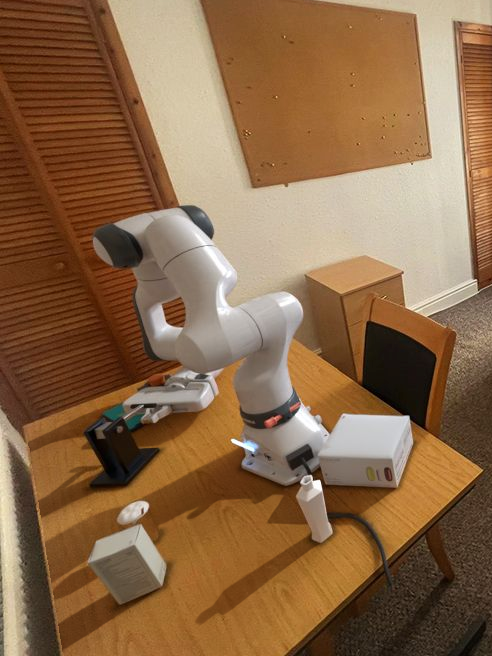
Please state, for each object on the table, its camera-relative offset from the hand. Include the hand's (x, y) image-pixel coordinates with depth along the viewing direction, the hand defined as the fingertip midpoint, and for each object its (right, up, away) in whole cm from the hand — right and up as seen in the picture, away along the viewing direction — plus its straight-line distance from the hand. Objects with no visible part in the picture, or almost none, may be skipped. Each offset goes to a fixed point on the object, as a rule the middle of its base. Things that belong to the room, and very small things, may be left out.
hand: (147, 421), depth 102 cm
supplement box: (+59, -8, -5) cm, 60 cm away
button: (-13, +5, +18) cm, 23 cm away
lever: (0, +2, -6) cm, 6 cm away
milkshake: (+20, -16, -22) cm, 34 cm away
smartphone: (-14, -2, +11) cm, 18 cm away
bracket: (0, -9, -6) cm, 11 cm away
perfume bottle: (+54, -15, -21) cm, 60 cm away
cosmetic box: (+26, -19, -29) cm, 43 cm away
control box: (-13, +2, +19) cm, 23 cm away
